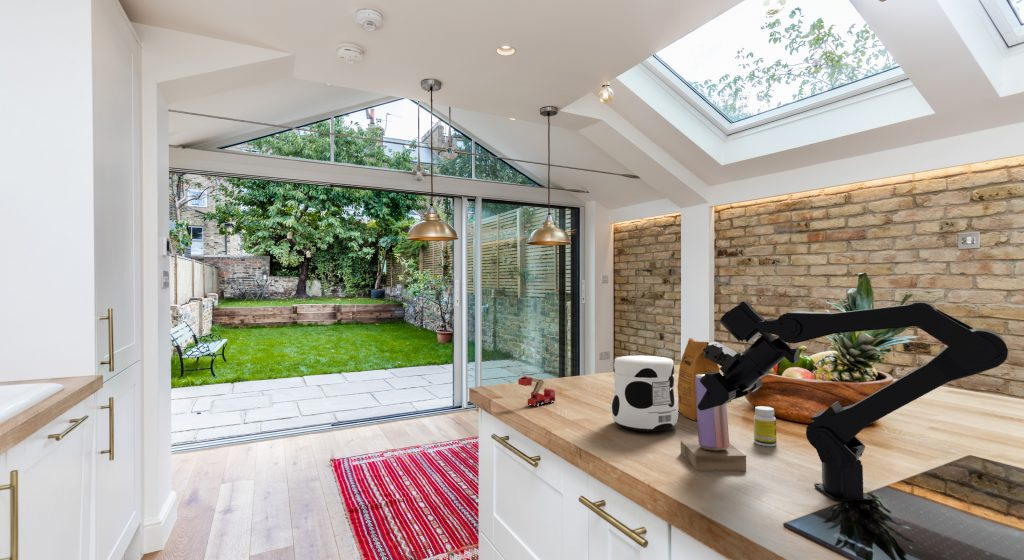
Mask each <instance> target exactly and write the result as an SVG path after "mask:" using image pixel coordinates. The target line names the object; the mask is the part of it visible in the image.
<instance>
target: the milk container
mask: <svg viewBox="0 0 1024 560" xmlns="http://www.w3.org/2000/svg"><path fill="white" fill-rule="evenodd" d="M613 364H614V365H613V372H614V373H613V381H614V387H613V388H614V391H613V396H612V399H611V403H610V405H611V406H610V409H611V415H612V419H613V422H614V423H615V424H616V425H618V426H620V427H621V428H623V429H624V428H625V429H628V430H632V431H639V432H646V433H647V432H648V433H652V432H663V431H668V430H671V429H672V428H674V427H675V426H676V425H677V422H678V419H679V412H678V400H677V399H676V395H675V364H674V360H673V359H672V358H670V357H663V356H654V355H624V356H617V357H615V358H614V362H613Z"/></svg>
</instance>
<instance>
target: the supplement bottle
mask: <svg viewBox="0 0 1024 560" xmlns="http://www.w3.org/2000/svg"><path fill="white" fill-rule="evenodd" d="M754 412H755V415H753V442H754V443H755V444H756V445H758V446H761V445H762V447H776V446H777V419H776V417H775V409H774V408H773V407H771V406H763V405H759V406H755V408H754Z"/></svg>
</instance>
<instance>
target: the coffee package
mask: <svg viewBox="0 0 1024 560" xmlns="http://www.w3.org/2000/svg"><path fill="white" fill-rule="evenodd" d="M708 343H710V342H709V341H696V340H695V339H694V338H692V337H690V338H688V340H687V344H686V346H685V349H684V352H683V354H682V356H681V360H680V363H679V369H678V380H677V388H676V389H677V398H678V400H677V405H678V411H679V412H678V413H681V414H682V416H683V417H684V416H685V417H684V418H686V417H687V418H686V419H689V420H692V421H697V407H696V392H695V378H696V377H695V376H696V375H705V374H707V373H710V372H720V369H719V368H720V366H719V365H718V364H716V363H715V362H713V361H711V360H709V359H706V358H704V357H703V355H704V351H703V349H704V348H705V347H706V346H707V345H708Z"/></svg>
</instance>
